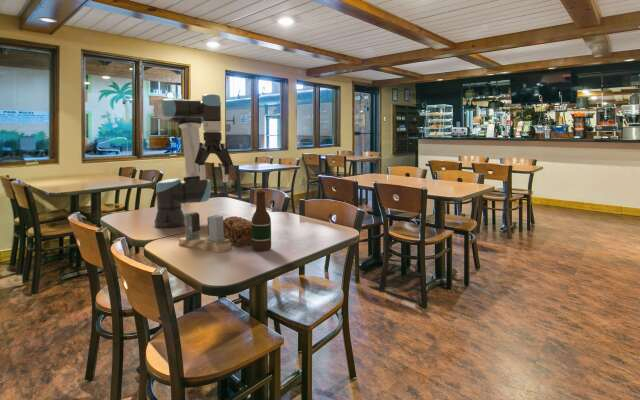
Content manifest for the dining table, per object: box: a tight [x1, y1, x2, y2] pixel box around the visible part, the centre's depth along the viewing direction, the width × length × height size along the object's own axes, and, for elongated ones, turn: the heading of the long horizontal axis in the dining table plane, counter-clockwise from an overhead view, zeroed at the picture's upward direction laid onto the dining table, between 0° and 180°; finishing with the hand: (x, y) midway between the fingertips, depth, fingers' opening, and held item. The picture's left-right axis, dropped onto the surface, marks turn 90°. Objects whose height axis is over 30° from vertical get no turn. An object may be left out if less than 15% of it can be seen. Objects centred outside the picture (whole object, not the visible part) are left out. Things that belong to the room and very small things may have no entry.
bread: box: [223, 215, 252, 248], centre depth 175 cm, size 19×11×10 cm, turn 33°
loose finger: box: [206, 214, 224, 243], centre depth 162 cm, size 5×4×11 cm
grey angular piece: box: [178, 211, 232, 253], centre depth 166 cm, size 23×7×14 cm, turn 60°
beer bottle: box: [251, 190, 272, 253], centre depth 161 cm, size 8×8×24 cm
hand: (214, 181), depth 175 cm, fingers open, 13 cm apart
